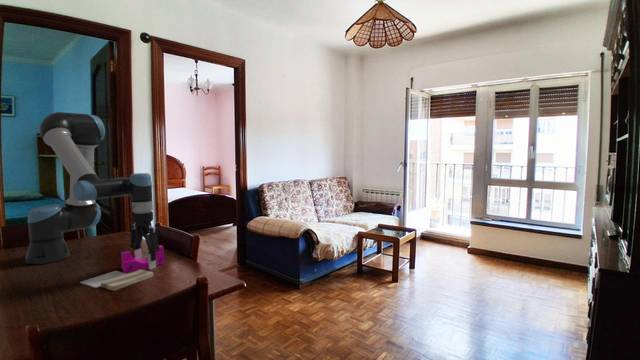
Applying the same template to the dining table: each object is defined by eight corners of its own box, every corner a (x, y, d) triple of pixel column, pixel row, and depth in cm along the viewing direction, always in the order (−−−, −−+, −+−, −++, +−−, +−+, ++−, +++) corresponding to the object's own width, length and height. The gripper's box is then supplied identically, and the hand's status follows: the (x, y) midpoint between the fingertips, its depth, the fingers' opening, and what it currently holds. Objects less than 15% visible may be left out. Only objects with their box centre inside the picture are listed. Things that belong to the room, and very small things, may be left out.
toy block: (125, 274, 131) (124, 255, 130) (122, 270, 136) (121, 251, 135) (166, 265, 140) (165, 248, 140) (161, 262, 145) (161, 245, 145)
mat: (79, 282, 122) (79, 282, 122) (115, 271, 134) (115, 270, 134) (95, 288, 118) (95, 287, 117) (131, 275, 129) (131, 274, 129)
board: (100, 286, 119) (100, 282, 118) (140, 272, 132) (140, 269, 132) (113, 290, 115) (113, 286, 115) (153, 276, 128) (153, 272, 128)
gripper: (117, 211, 138) (121, 265, 140) (150, 215, 128) (153, 273, 130) (135, 208, 144) (138, 260, 146) (167, 212, 135) (170, 267, 137)
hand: (145, 266), depth 138 cm, fingers open, 8 cm apart
